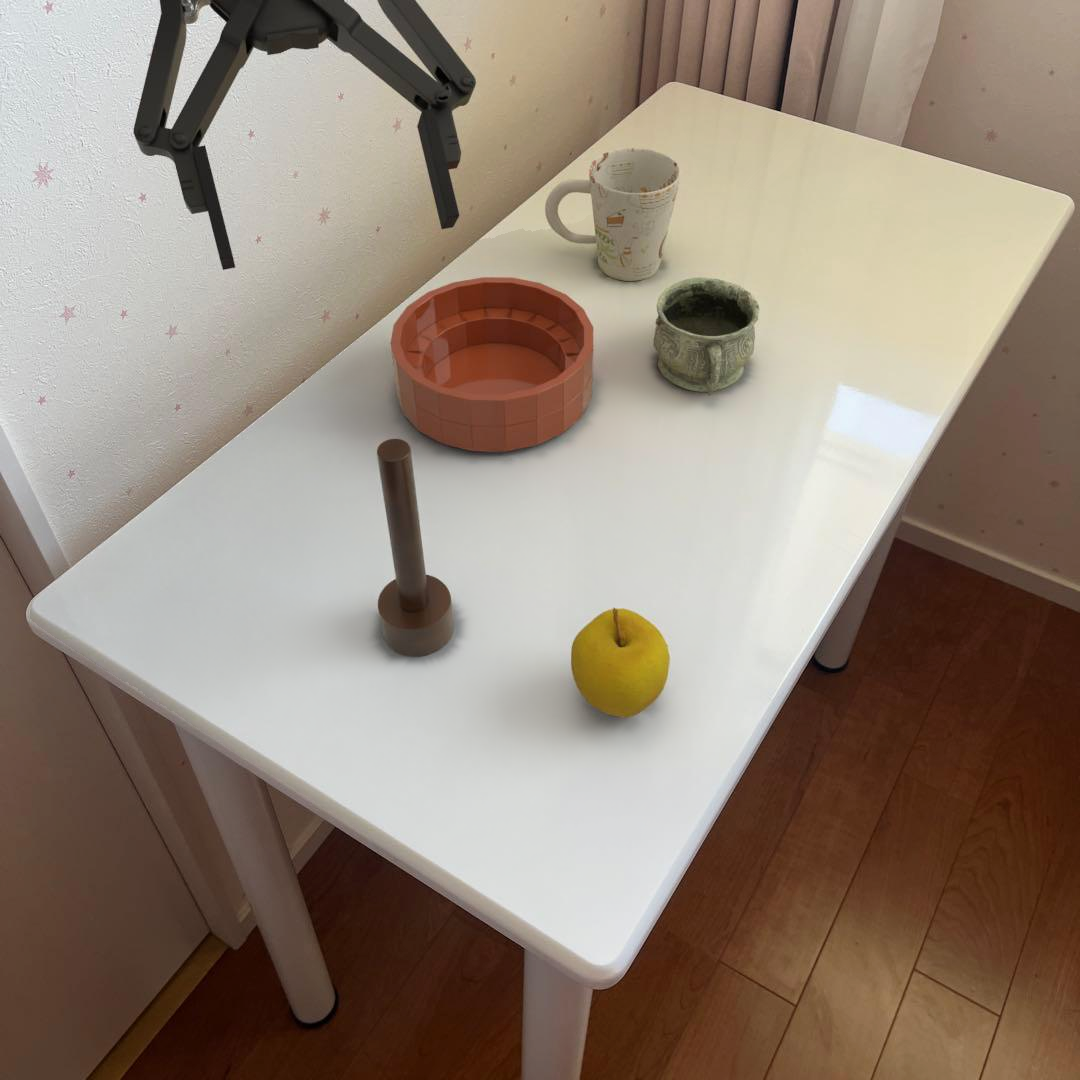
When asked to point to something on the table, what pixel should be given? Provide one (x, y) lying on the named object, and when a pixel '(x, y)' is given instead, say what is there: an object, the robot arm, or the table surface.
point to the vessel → (704, 333)
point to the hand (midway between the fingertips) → (341, 243)
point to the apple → (620, 662)
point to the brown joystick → (409, 565)
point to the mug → (624, 210)
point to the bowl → (493, 363)
